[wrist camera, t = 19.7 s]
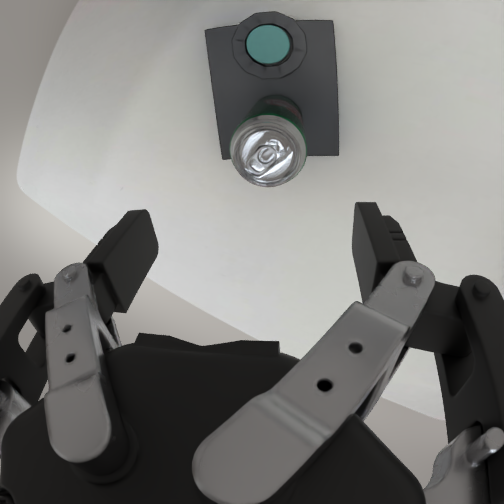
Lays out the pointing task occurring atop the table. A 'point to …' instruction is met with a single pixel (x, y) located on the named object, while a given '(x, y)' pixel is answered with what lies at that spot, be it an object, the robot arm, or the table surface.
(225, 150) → the dark grey flat block
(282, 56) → the button
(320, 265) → the table surface
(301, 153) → the soda can
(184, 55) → the table surface
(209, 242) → the table surface
